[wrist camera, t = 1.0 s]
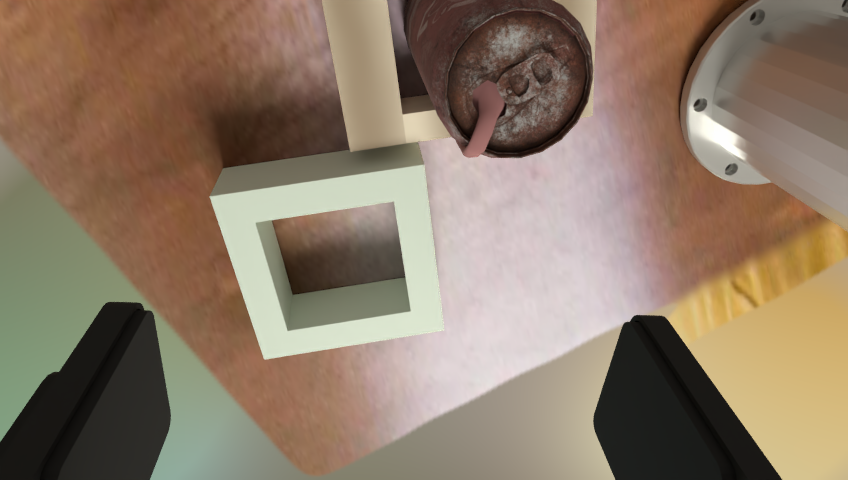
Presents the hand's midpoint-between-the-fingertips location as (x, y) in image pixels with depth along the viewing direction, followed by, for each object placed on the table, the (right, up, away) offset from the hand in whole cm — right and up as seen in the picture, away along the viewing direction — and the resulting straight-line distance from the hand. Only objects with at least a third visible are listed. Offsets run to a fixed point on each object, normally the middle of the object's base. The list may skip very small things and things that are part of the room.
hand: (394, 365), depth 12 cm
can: (+2, +15, +21) cm, 26 cm away
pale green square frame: (-5, +3, +27) cm, 28 cm away
